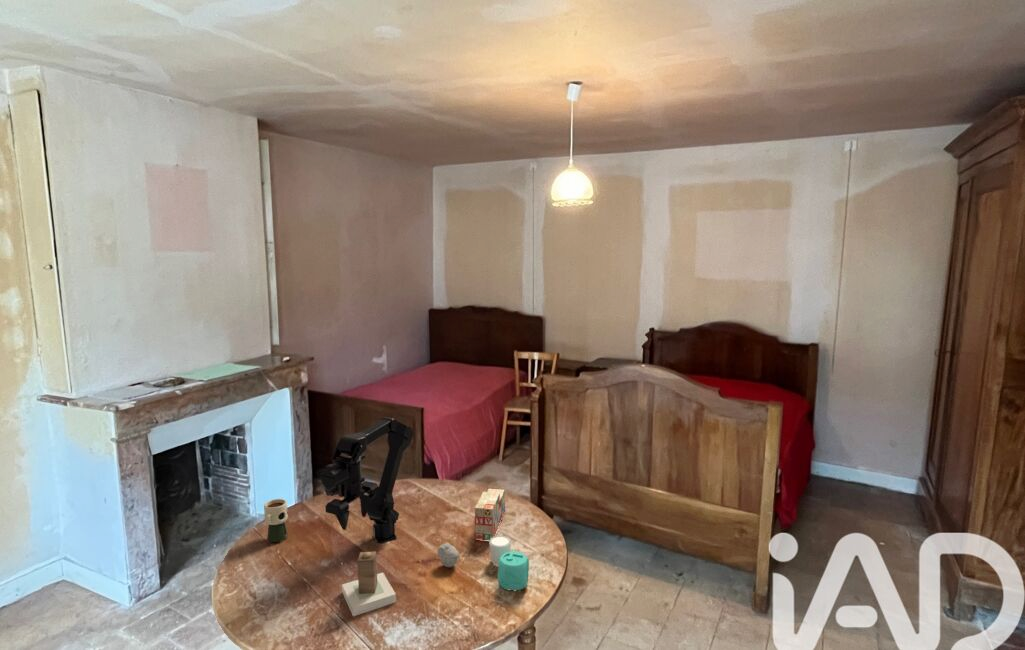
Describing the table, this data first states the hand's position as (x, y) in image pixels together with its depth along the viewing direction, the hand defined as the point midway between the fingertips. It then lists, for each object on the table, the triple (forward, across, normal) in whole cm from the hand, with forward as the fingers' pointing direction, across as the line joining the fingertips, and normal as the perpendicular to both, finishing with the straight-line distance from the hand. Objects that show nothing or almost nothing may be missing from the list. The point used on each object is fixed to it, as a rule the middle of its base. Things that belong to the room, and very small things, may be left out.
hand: (354, 522), depth 176 cm
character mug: (+12, +2, -32) cm, 34 cm away
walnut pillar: (+9, +14, +17) cm, 24 cm away
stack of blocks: (+12, -36, +30) cm, 49 cm away
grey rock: (+12, -9, +29) cm, 33 cm away
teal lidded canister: (+12, -9, +52) cm, 54 cm away
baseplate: (+12, +14, +17) cm, 25 cm away
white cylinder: (+12, -18, +43) cm, 48 cm away
